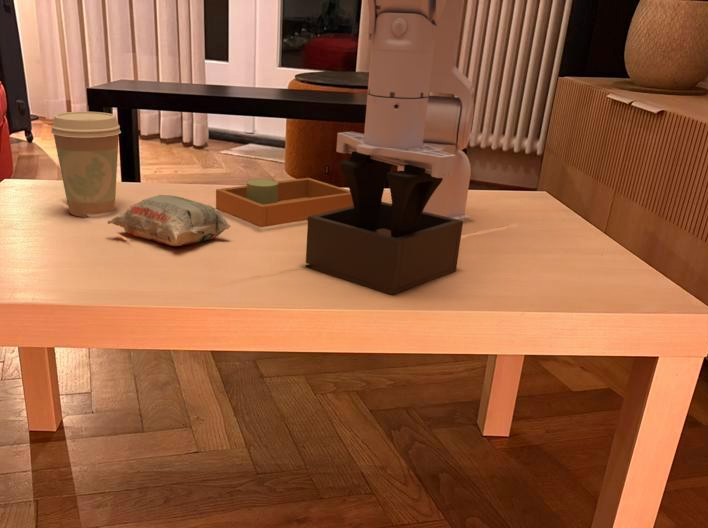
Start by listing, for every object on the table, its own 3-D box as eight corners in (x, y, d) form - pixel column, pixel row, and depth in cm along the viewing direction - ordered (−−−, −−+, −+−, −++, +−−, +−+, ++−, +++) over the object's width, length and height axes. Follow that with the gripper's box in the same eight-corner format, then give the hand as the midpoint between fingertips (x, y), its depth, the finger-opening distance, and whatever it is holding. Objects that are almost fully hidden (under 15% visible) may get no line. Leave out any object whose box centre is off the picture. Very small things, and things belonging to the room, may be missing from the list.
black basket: (371, 246, 91) (375, 199, 88) (456, 270, 84) (463, 220, 81) (305, 266, 83) (307, 216, 81) (392, 295, 76) (398, 240, 74)
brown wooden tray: (307, 198, 111) (308, 177, 110) (356, 215, 104) (358, 192, 102) (215, 211, 103) (215, 189, 102) (261, 230, 95) (261, 206, 94)
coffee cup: (46, 216, 98) (36, 118, 92) (76, 201, 105) (68, 109, 100) (109, 222, 96) (103, 122, 91) (135, 206, 104) (130, 113, 98)
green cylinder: (265, 208, 103) (266, 178, 102) (283, 215, 100) (284, 184, 99) (240, 211, 101) (241, 181, 99) (257, 218, 98) (258, 187, 97)
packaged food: (177, 260, 84) (176, 215, 81) (107, 238, 90) (105, 195, 88) (232, 245, 90) (232, 203, 87) (163, 225, 96) (162, 185, 94)
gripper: (316, 88, 76) (309, 224, 82) (423, 106, 65) (405, 261, 72) (370, 85, 80) (359, 216, 86) (478, 102, 69) (457, 249, 75)
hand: (383, 236), depth 79 cm, fingers open, 5 cm apart
